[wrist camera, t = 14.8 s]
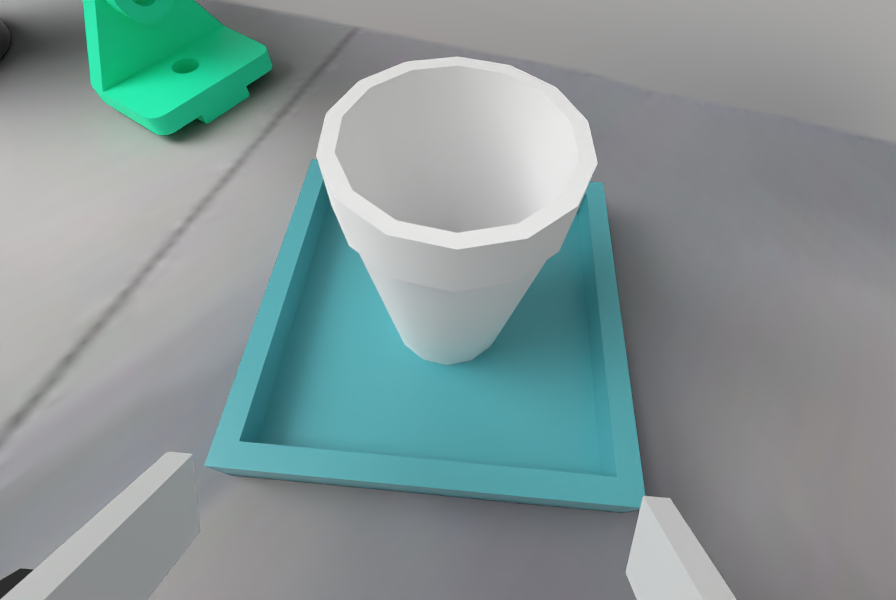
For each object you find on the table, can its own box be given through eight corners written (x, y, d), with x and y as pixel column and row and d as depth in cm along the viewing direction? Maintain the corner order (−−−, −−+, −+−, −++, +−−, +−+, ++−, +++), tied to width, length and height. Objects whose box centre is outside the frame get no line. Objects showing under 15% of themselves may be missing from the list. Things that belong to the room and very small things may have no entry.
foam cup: (346, 367, 24) (267, 209, 13) (395, 240, 28) (368, 41, 17) (512, 408, 23) (587, 277, 12) (535, 270, 28) (605, 80, 16)
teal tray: (231, 475, 22) (204, 466, 19) (322, 190, 32) (312, 159, 29) (621, 512, 21) (647, 508, 19) (589, 212, 32) (603, 182, 29)
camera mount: (171, 150, 34) (78, 9, 25) (112, 113, 36) (6, -29, 27) (281, 77, 39) (236, -61, 30) (224, 48, 41) (166, -89, 32)
